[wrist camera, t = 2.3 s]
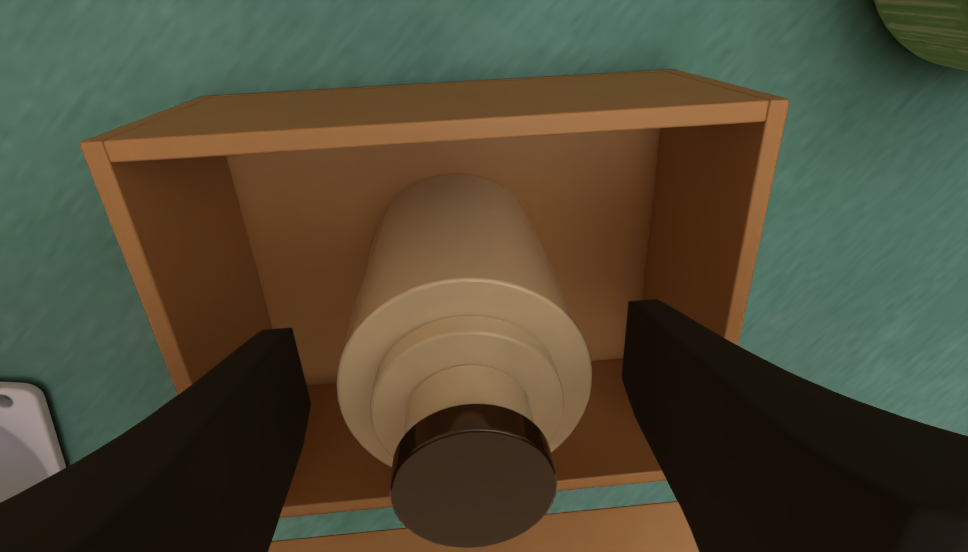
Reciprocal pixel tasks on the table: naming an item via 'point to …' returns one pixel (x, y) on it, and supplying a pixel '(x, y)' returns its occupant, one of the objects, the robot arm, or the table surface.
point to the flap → (537, 535)
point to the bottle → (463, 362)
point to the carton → (406, 161)
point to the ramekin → (929, 28)
